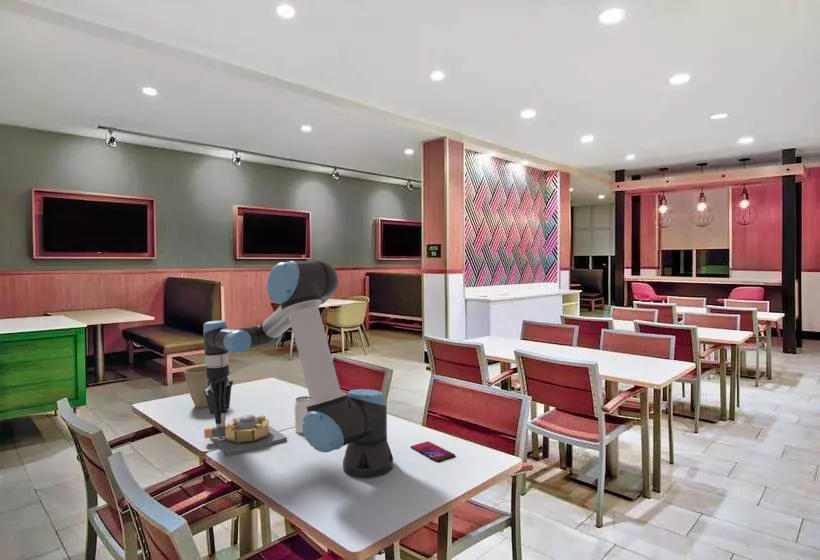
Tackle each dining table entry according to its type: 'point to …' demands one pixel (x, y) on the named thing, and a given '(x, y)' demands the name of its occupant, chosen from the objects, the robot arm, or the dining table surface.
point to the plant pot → (197, 384)
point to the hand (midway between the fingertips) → (221, 431)
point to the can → (300, 412)
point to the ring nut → (239, 431)
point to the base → (241, 447)
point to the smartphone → (433, 451)
